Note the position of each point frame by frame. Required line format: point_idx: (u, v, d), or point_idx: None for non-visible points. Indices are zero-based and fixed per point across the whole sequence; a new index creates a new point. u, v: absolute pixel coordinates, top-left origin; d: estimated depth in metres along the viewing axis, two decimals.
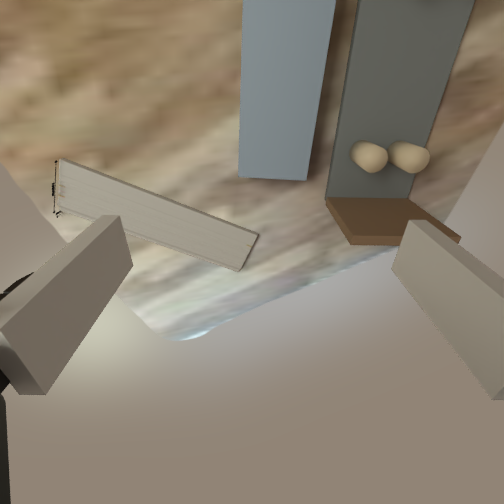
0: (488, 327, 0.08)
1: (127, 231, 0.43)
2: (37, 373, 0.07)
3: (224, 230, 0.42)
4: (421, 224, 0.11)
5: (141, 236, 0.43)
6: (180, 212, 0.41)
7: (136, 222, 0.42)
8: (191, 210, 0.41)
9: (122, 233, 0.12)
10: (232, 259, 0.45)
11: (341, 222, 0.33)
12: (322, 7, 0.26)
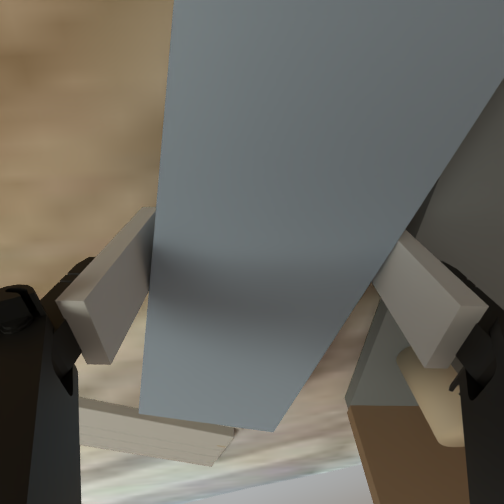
0: (422, 303, 0.09)
1: None
2: (105, 344, 0.08)
3: (177, 433, 0.25)
4: None
5: None
6: (98, 418, 0.24)
7: None
8: (117, 414, 0.24)
9: None
10: (196, 458, 0.28)
11: None
12: (389, 197, 0.09)
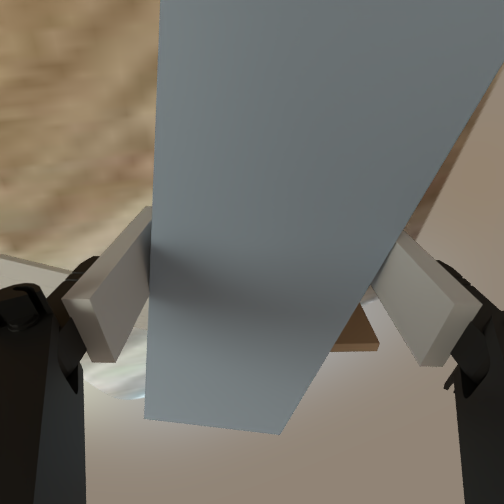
0: (417, 302, 0.09)
1: None
2: (110, 342, 0.08)
3: None
4: None
5: None
6: None
7: None
8: None
9: None
10: None
11: None
12: (386, 194, 0.09)
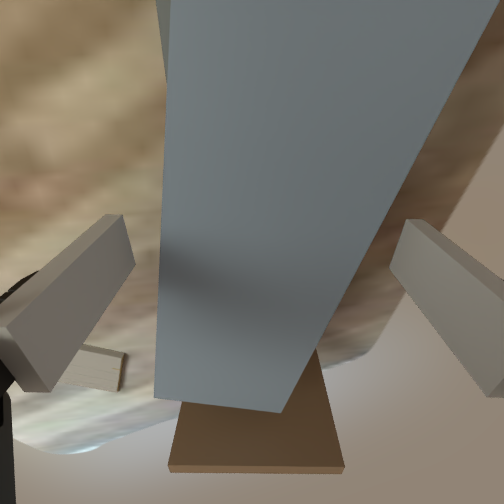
0: (483, 325, 0.08)
1: None
2: (42, 371, 0.07)
3: None
4: (418, 223, 0.11)
5: None
6: None
7: None
8: None
9: (125, 233, 0.12)
10: (101, 383, 0.34)
11: (181, 407, 0.21)
12: (371, 180, 0.10)
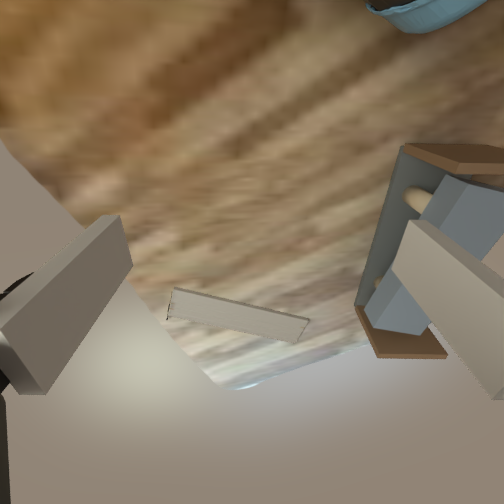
0: (488, 327, 0.08)
1: (214, 324, 0.60)
2: (37, 373, 0.07)
3: (284, 320, 0.58)
4: (421, 224, 0.11)
5: (224, 326, 0.60)
6: (253, 312, 0.57)
7: (222, 319, 0.58)
8: (261, 310, 0.57)
9: (123, 233, 0.12)
10: (290, 336, 0.61)
11: (370, 337, 0.49)
12: (476, 255, 0.38)
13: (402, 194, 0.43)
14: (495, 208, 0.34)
